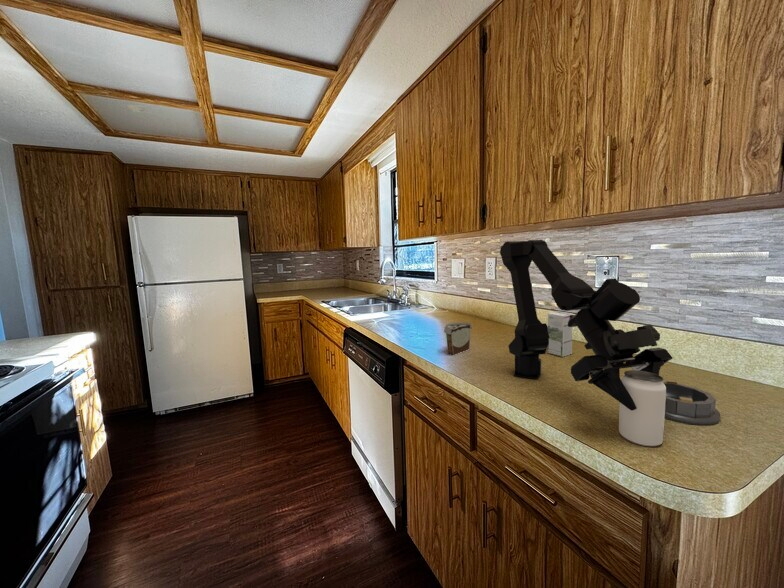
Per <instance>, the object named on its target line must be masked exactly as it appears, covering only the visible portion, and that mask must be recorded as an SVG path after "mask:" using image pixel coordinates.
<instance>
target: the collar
mask: <svg viewBox="0 0 784 588" xmlns="http://www.w3.org/2000/svg"><path fill="white" fill-rule="evenodd" d="M663 383H664V384H665V386H666V402H667V404H665V417H664V420H665V419H666V420H668V421H669V420H670V421H673V422H677V423H680V424H685V425H693V426H715V425H717V424H719V423H720V422H721V412H720V411H719V410H717V409H716V401H717V399H716V398H715V397H714V396H713V395H712V394H711V393H709V392H706V391H704V390H702V389H700V388H697V387H694V386H689V385H686V384H682V383H678V381H677V380H673V379H665V380H664V381H663Z"/></svg>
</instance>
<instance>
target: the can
mask: <svg viewBox="0 0 784 588" xmlns="http://www.w3.org/2000/svg"><path fill="white" fill-rule="evenodd" d="M623 374H624V375H623V377H622V378H621V381H622V383H623V384H624V386H625V388H626V389H627V391H628V393H629V394H630V396H631V398H632V399H633V401H634V403H635V405H636V407H637V409H635V410H633V411H631V410H630V409H628V408H627V407H626V406H624V405H623V404H622V403H620V402H619V411H618V412H619V417H618V433H619V434H620V435H621V437H623V438H624V439H625V440H626V441H628V442H630V443H633V444H636V445H637V446H638V445H639V446H641V447H642V446H643V447H647V448H653V447H654V448H655V447H658V446H660V445H661V444H662V443H664V430H665V429H664V428H665V418H664V417H665V402H666V386H665V384H664V383H663V382H664V381H665V380H664V378H663V376H661V375H660V374H659V375H657V374H654V373H650V372H646V371H638V370H633V369H632V370H631V369H630V370H626V371H624V373H623Z"/></svg>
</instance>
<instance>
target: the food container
mask: <svg viewBox="0 0 784 588" xmlns="http://www.w3.org/2000/svg"><path fill="white" fill-rule="evenodd" d="M472 328H473V326H472V323H471V322H451V323H447V324H446V325H445V327H444V329H443V333H444V334H445V336H446V346H447V353H448V354H449V355H450V354H451V355H450V356H452V355H454V356H456V355H455V354H457V355H459V354H458V353H460V352H462V353H464V352H463V351H465V352H467V351H466V350H468V349H469V350H471V349H470V346H471V345H470V344H471V330H472ZM469 350H468V351H469ZM460 354H461V353H460Z"/></svg>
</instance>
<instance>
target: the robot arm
mask: <svg viewBox="0 0 784 588" xmlns="http://www.w3.org/2000/svg"><path fill="white" fill-rule="evenodd" d="M499 250H500V251H499V255H500V257H501V260H502V263H503V266H504V267H505V268H506V269H507V270H508V272H509V274H510V277H511V283H512V289H513V295H514V299H515V307H516V311H517V318H518V321H517V324H516V326H515V328H514V339H513V340H512V341H511V342H510V343H509V344H508V345H507V346H508V351H509V353H510V354H512V355H513V356H514V371H513V377H518V378H519V377H520V378H525V379H532V380H533V379H534V380H539V378H540V377H539V376H541V375H542V358H540V355H546V353H547V346H548V345H549V338H550V336H549V334H548V324H547V323H542V322H541V320H540V319H539V318H538V313H537V308H536V303H535V298H534V297H535V296H534V292H533V285H532V280H531V275H530V266H531V264H532V262H533V263H534V264H535V266H536V267H537V269H538V270H539V271H540V273H541V275H542V276H543V277H544V278H545V279H546V280H547V282H548V284H549V286H550V288H551V291H550V293H551V294H550V295H551V296H552V299H553V300H554V303H555V304H556V306H557V308H558V309H559V310H561V311H563V312H567V311H569V312H570V311H577V312H576V313H575V314H573V315H570V319H569V321H568V327H572V328H573V327H577V328H578V330H579V332H580V333H581V334H582V337H583V338H584V339H585V341H586V343H585V344H584V348H585V349H586V350H591V351H592V352H593V353H594V354H592V355H584V356H583V357H581V358H580V359H579V360H578V361H577V362H575V363H574V364H572V365H571V368H570V374H571V376H572V378H573V379H574V381H575V382H582V381H587V383H588V384H590V385H591V384H592V385H594V386H596V387H597V388H599V389H600V390H601V391H603V392H605V393H606V394H607V395H609V396H610V397H612V398H613V399H614V400H616V401H617V402H619V404H620V403H622V404H623V405H624V406H626V407H627V408H628V409H630V410H631V411H633V410H635V409H637V407H636V405H635V403H634V401H633V399H632V398H631V396H630V394H629V393H628V391H627V389H626V388H625V386H624V384H623V383H622V381H621V380H622V378H620V377H621V374H620V371H621V369H628V368H629V369H630V368H631V369H632V370H638V371H646V372H650V373H654V374H657V375H659V376H660V370H661V367H663V366H665V364H667V363H668V362H670V361H671V360H673V358H674V357H673V356H672V355H671V354H670V353H669V352H668V350H667V349H666V348H662V347H657V346H658V343H657V342H659V341H660V339H661V333H660V332H659V331H658V330H656V328H655V327H654V326H653V325H652V324H645V325H642V326H637V327H636V329H635V330H634V329H633V330H630V331H628V330H627V331H625V330H623V329H615V328H614V326H613V325H612V323H611V322H615V321H619V319H621V318H622V317H623V316H624V315H626V314H627V313H628V312H629V311H630V310H631V309H632V308H634V307H635V306H636V305H637V304H639V303H640V301H641V297H640V294H639V293H638V292H637V291H636V289H634V288H632V287H630V286H629V285H627V284H625V283H623V282H620V281H618V279H617V278H614V277H613V278H607V279H605V280H604V281H603V283H602V284H601V286H599V288H598V289H597V290H594V288H593V287H592V286H591V285H589V284H588V283H587V282H586V281H585V280H583V279H581V278H579V277H577V276H575V275H573V274H572V273H570V272H569V271H568V269H567V268H566V267H565V266H564V265H563V263H562V262H561V261H560V260H559V258H558V257H557V256H556V255H555V254H554V253H553V251H552V250H551V249H550V248H549V247H548V243H547V242H546V240H544V239H528V240H514V241H512V240H511V241H505V242H504V243H503V245H502V246H500V249H499ZM645 347H651V348H645ZM640 348H645V349H644V350H642V351H641V349H640ZM634 354H636V355H635V356H634ZM665 404H667V402H665Z"/></svg>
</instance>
